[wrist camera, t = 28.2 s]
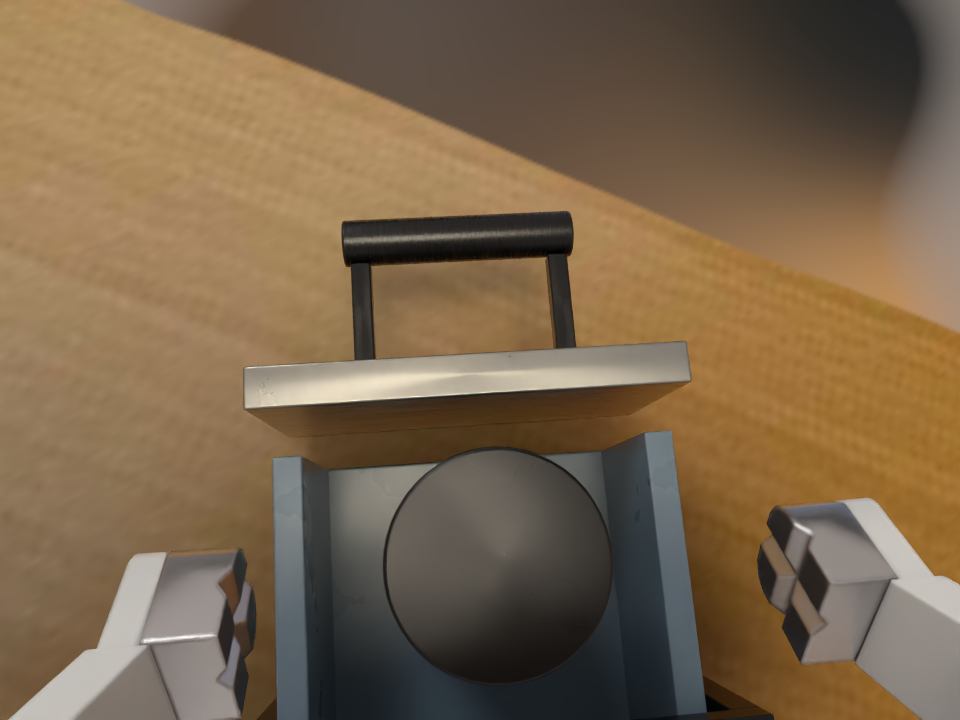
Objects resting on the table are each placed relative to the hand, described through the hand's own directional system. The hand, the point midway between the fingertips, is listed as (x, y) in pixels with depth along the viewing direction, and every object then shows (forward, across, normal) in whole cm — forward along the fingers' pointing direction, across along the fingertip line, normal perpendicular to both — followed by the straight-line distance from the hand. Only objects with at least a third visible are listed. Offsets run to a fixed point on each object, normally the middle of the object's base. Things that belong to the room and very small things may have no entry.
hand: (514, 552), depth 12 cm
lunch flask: (+10, 0, +10) cm, 14 cm away
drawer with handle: (+11, 0, +10) cm, 15 cm away
